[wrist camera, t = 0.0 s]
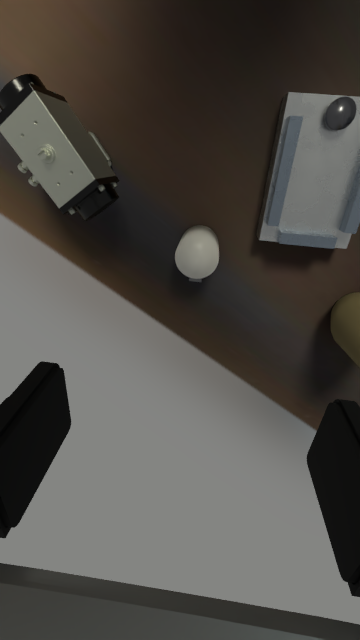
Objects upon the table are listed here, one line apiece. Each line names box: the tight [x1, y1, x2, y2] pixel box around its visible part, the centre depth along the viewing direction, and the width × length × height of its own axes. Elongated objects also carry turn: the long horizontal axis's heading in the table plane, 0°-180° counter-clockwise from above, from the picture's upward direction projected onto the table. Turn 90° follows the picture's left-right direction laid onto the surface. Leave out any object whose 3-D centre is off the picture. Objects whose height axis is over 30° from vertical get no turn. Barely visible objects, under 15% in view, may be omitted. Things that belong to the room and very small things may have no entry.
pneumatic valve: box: [0, 74, 119, 221], centre depth 30 cm, size 6×12×12 cm, turn 33°
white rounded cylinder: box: [175, 225, 219, 282], centre depth 37 cm, size 7×5×6 cm
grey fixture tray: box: [256, 92, 360, 249], centre depth 32 cm, size 14×10×5 cm
